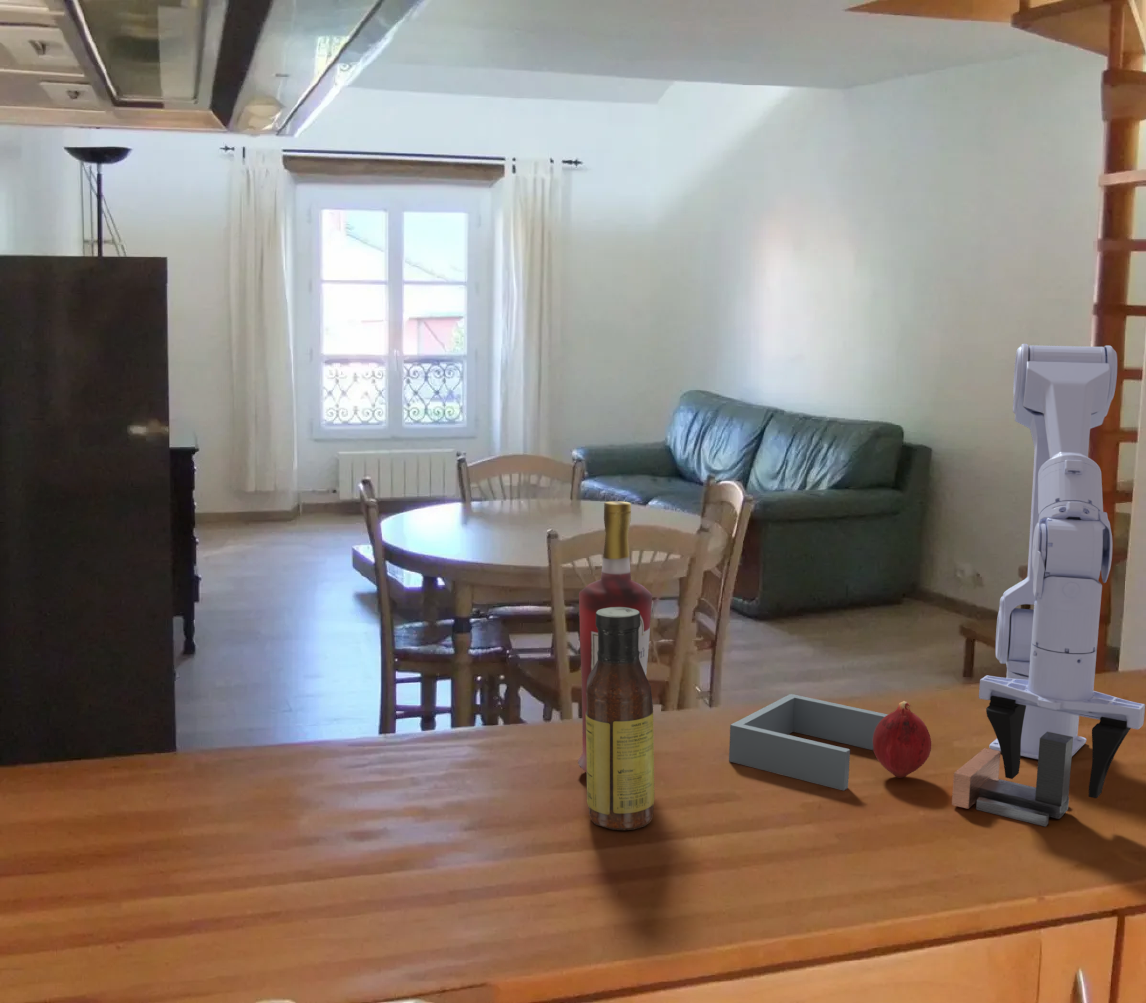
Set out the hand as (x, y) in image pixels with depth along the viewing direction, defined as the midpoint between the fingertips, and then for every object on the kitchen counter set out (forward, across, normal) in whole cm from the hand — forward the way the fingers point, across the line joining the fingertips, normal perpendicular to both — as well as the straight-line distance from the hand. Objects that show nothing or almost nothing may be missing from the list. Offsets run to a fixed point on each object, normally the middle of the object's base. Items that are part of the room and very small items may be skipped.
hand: (1052, 785), depth 118 cm
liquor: (+3, -38, -18) cm, 43 cm away
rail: (+3, -3, 0) cm, 4 cm away
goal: (+3, -24, 0) cm, 24 cm away
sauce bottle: (+3, -32, -27) cm, 42 cm away
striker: (+3, -3, 0) cm, 4 cm away
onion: (+3, -15, 0) cm, 15 cm away
